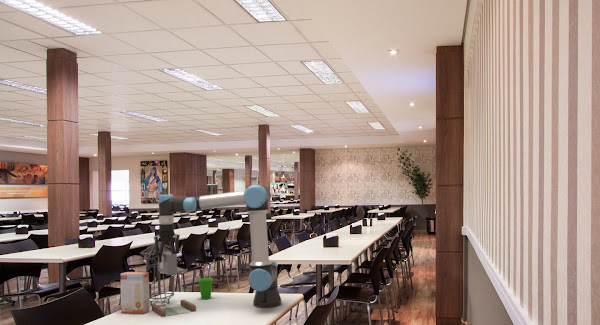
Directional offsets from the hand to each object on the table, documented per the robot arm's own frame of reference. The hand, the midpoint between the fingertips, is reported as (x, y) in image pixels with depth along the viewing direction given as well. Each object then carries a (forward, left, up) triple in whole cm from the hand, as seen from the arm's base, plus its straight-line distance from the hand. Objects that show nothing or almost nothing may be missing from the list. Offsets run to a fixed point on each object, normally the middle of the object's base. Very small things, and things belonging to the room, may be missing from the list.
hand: (167, 267), depth 271 cm
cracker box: (+10, +14, -23) cm, 29 cm away
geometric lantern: (+21, -2, -23) cm, 31 cm away
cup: (+17, -28, -23) cm, 40 cm away
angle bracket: (0, -3, -2) cm, 3 cm away
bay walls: (0, -3, -23) cm, 23 cm away
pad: (0, -3, -23) cm, 23 cm away
